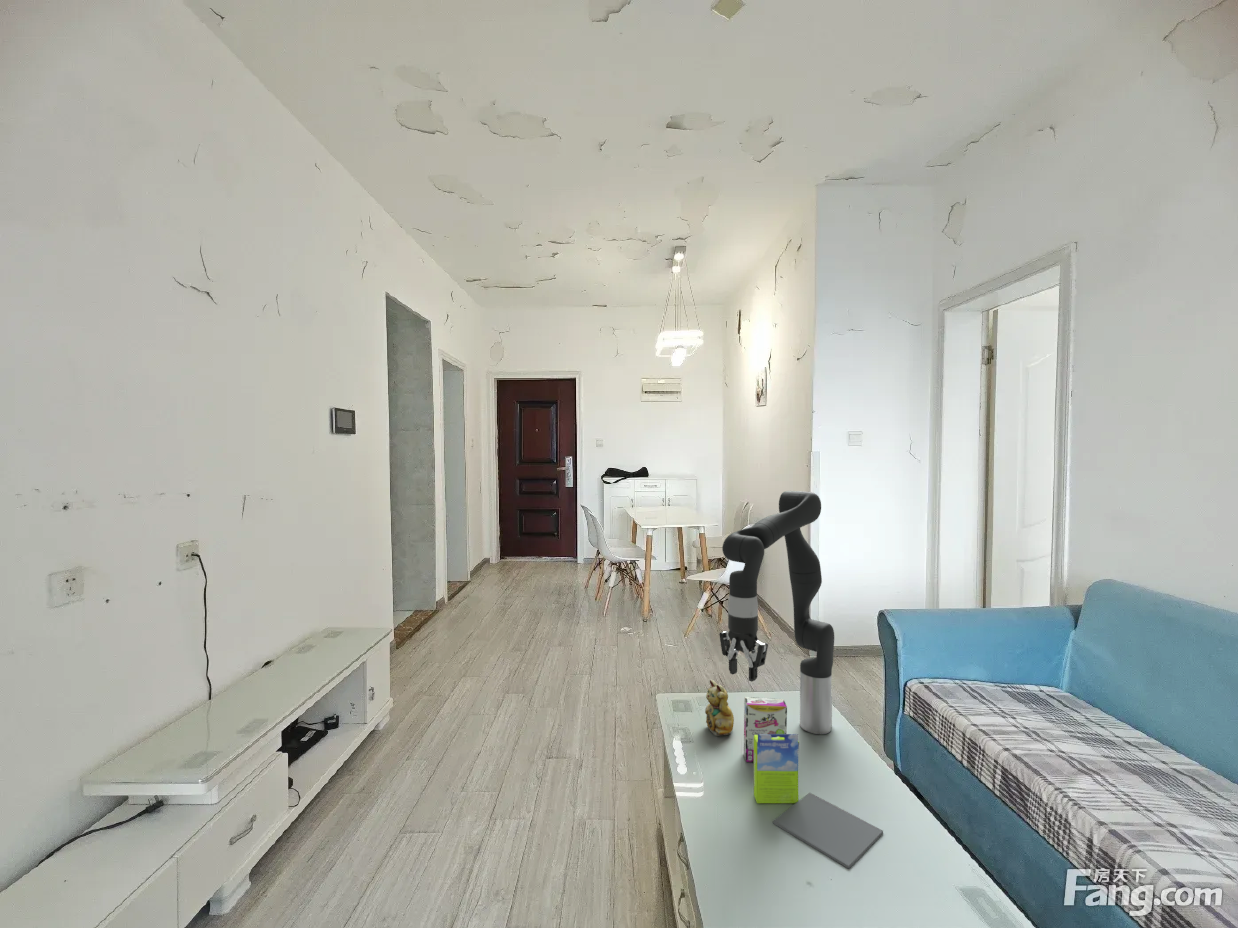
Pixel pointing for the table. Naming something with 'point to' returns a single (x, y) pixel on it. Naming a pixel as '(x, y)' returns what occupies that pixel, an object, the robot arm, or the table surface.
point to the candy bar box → (762, 721)
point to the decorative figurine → (718, 711)
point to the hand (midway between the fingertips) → (742, 676)
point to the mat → (829, 829)
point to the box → (776, 768)
